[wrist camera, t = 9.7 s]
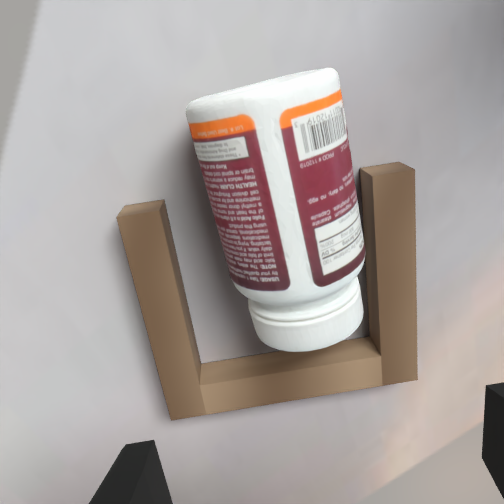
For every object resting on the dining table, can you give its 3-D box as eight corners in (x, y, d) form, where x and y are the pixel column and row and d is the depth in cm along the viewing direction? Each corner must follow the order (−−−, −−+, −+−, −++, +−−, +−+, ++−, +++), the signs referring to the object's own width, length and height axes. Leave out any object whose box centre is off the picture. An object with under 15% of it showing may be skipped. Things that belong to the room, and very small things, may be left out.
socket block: (398, 161, 17) (414, 169, 16) (404, 359, 20) (417, 379, 19) (124, 205, 17) (116, 217, 16) (174, 396, 20) (171, 420, 19)
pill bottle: (196, 96, 16) (248, 300, 19) (167, 109, 12) (241, 370, 15) (329, 64, 16) (361, 280, 19) (351, 65, 11) (388, 347, 14)
